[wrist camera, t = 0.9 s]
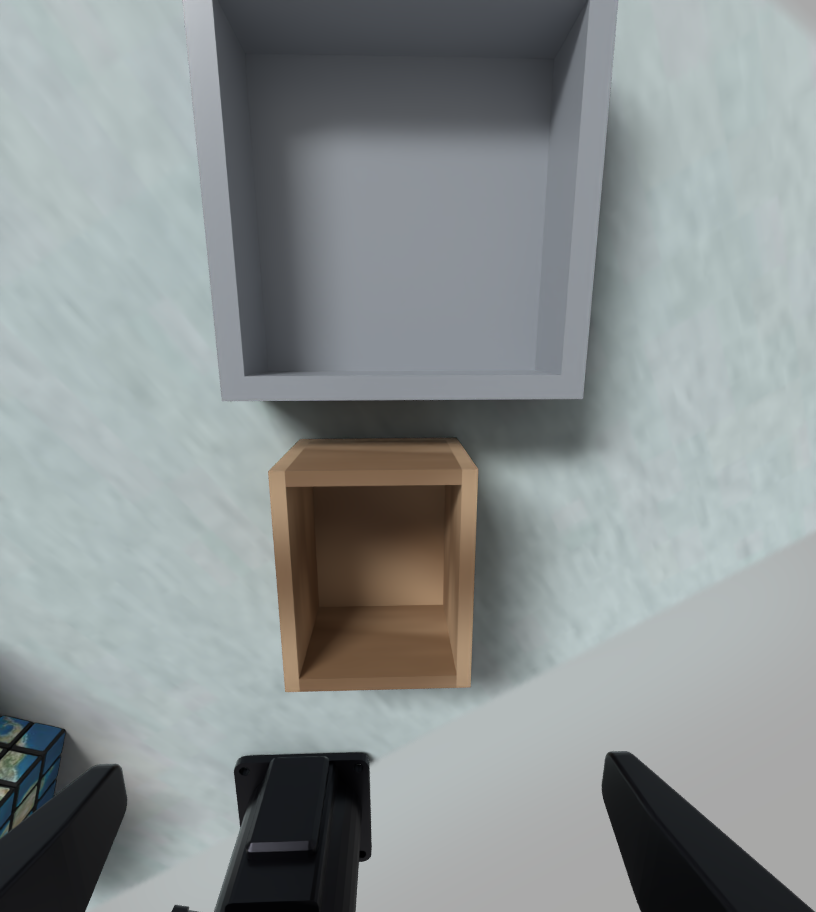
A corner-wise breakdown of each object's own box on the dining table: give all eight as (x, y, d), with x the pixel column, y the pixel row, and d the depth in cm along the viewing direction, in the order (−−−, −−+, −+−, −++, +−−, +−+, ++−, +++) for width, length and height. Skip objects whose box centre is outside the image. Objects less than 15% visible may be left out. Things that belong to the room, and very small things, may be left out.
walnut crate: (452, 608, 21) (470, 687, 16) (310, 610, 21) (285, 692, 16) (456, 437, 19) (478, 469, 14) (300, 439, 19) (268, 471, 14)
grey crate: (548, 389, 19) (582, 398, 15) (253, 390, 18) (221, 401, 15) (572, 42, 16) (621, -40, 12) (224, 36, 16) (177, -51, 12)
